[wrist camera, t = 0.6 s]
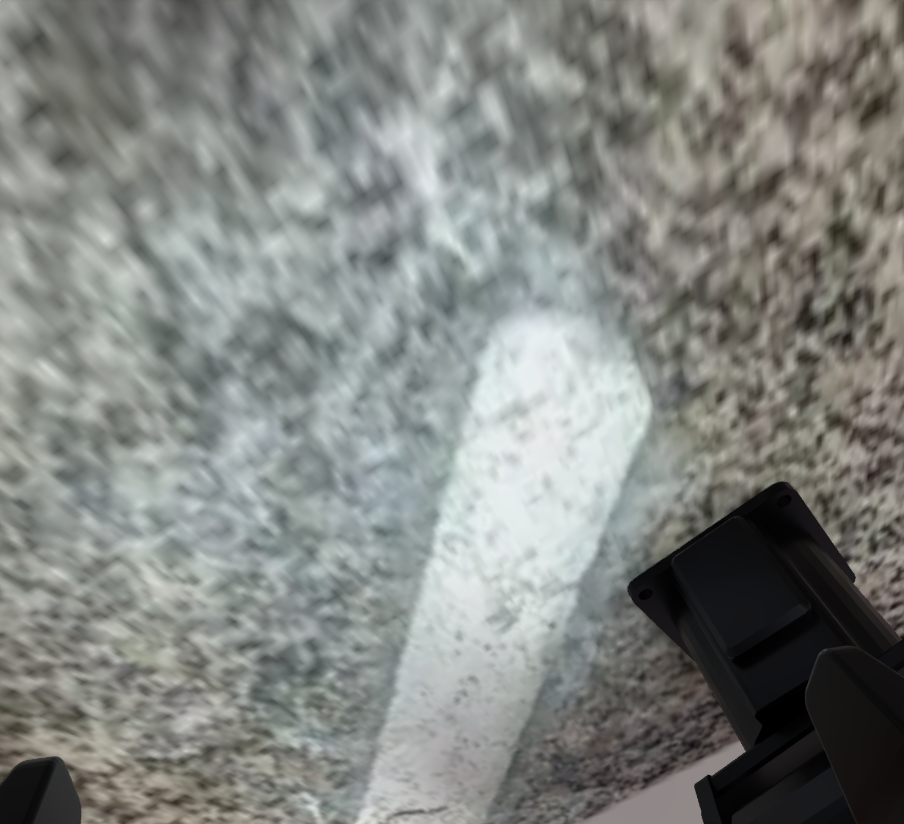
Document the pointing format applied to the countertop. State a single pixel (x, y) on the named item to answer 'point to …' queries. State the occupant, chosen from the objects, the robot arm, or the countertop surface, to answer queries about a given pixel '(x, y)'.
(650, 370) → the countertop surface
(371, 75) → the countertop surface
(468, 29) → the countertop surface
